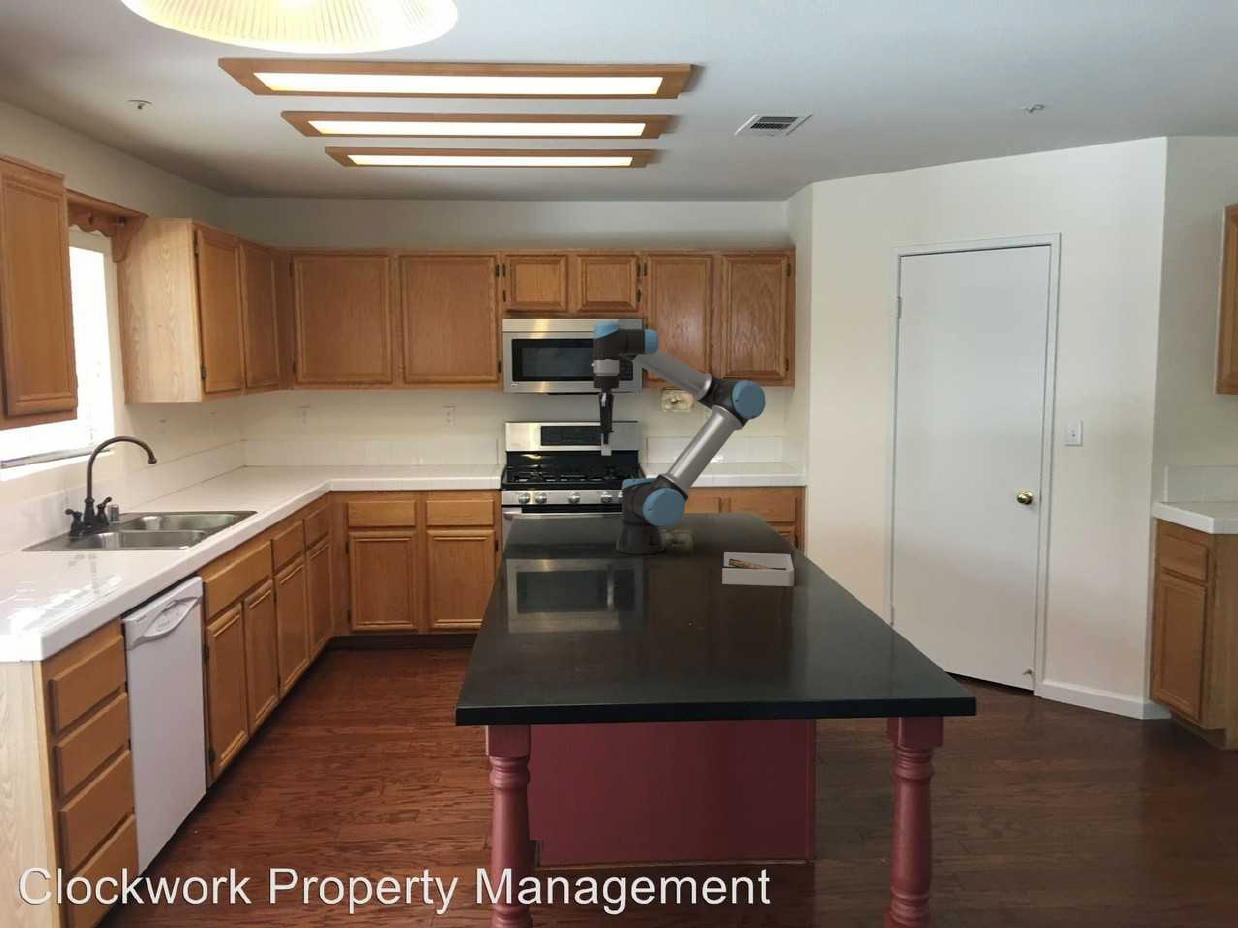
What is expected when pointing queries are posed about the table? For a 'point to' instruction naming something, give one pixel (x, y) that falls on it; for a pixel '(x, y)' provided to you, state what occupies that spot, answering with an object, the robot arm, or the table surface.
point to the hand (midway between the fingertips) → (606, 455)
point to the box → (756, 574)
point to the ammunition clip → (746, 565)
